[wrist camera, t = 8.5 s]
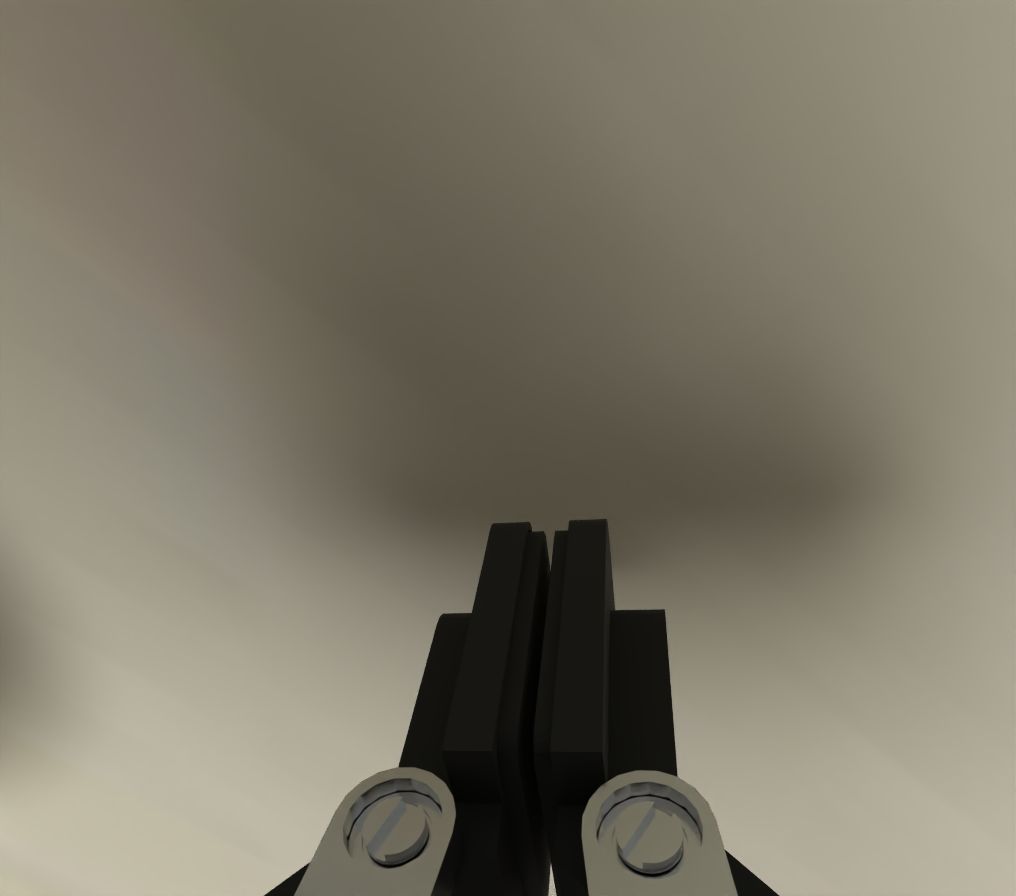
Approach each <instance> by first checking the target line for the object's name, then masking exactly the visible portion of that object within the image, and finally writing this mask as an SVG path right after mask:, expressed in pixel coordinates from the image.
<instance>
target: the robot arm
mask: <svg viewBox="0 0 1016 896" xmlns="http://www.w3.org/2000/svg"><path fill="white" fill-rule="evenodd" d="M550 865H552V871H553V877H554V883H555V888H556V894H557V896H779V895H778V894H777V893H776V892H774V891H773V890H772V889H771V888H770V887H768V886H767V885H766V884H765V883H764V882H763V881H761V880H760V879H759V878H758V877H757V876H755V875H754V874H753V873H752V872H751V871H750V870H748V869H747V868H746V867H745V866H744V865H742V864H741V863H740V862H739V861H738V860H737V859H735V858H734V857H733V856H732V855H731V854H729V853H728V852H727V851H726V850H725V849H724V846H723V842H722V839H721V835H720V832H719V828H718V825H717V821H716V819H715V817H714V814H713V812H712V810H711V808H710V806H709V804H708V802H707V801H706V800H705V799H704V798H703V796H702V795H701V794H700V793H699V792H698V791H697V790H696V789H695V788H694V787H693V786H691V785H690V784H688V783H686V782H685V781H683V780H681V779H680V778H678V776H677V763H676V750H675V737H674V723H673V710H672V697H671V684H670V670H669V657H668V644H667V631H666V618H665V609H662V610H615V604H614V592H613V580H612V567H611V555H610V543H609V531H608V522H607V519H596V520H570V521H569V528H568V531H555V536H554V545H553V554H552V564H551V571H550V564H549V556H548V549H547V541H546V535H545V532H544V531H540V532H532V527H531V524H530V522H516V523H493V524H492V526H491V529H490V533H489V538H488V542H487V547H486V551H485V556H484V560H483V565H482V569H481V574H480V578H479V583H478V587H477V592H476V596H475V601H474V606H473V610H472V613H454V614H442V615H441V616H440V618H439V620H438V623H437V626H436V630H435V633H434V637H433V641H432V644H431V648H430V652H429V656H428V659H427V663H426V667H425V670H424V674H423V678H422V682H421V685H420V689H419V693H418V696H417V700H416V704H415V707H414V711H413V715H412V719H411V722H410V726H409V730H408V733H407V737H406V741H405V745H404V748H403V752H402V756H401V759H400V763H399V767H397V768H393V769H389V770H385V771H382V772H378V773H376V774H375V775H373V776H371V777H369V778H367V779H365V780H363V781H362V782H360V783H359V784H358V785H357V786H356V787H355V788H354V789H353V790H351V791H350V792H349V793H348V794H347V795H346V796H345V798H344V799H343V801H342V802H341V804H340V805H339V807H338V808H337V810H336V811H335V813H334V815H333V817H332V819H331V821H330V823H329V825H328V828H327V830H326V832H325V834H324V836H323V838H322V840H321V842H320V844H319V846H318V848H317V850H316V852H315V854H314V856H313V858H312V860H311V862H310V863H308V864H307V865H306V866H304V867H303V868H301V869H300V870H299V871H297V872H296V873H295V874H293V875H292V876H290V877H289V878H288V879H286V880H285V881H283V882H282V883H281V884H279V885H278V886H277V887H275V888H274V889H272V890H271V891H270V892H268V893H267V894H266V895H264V896H548V892H549V878H550Z"/></svg>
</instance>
